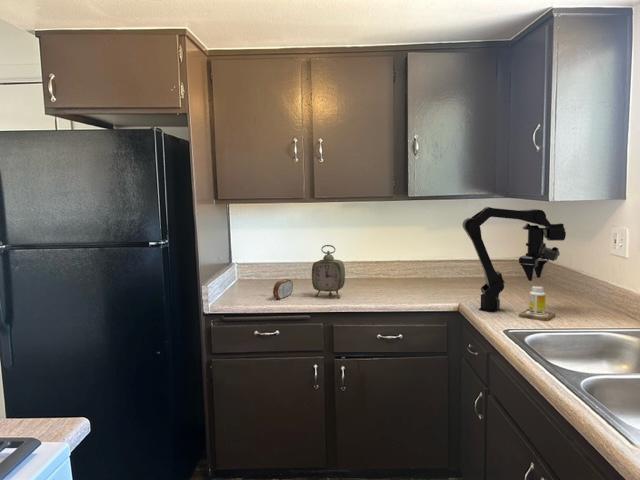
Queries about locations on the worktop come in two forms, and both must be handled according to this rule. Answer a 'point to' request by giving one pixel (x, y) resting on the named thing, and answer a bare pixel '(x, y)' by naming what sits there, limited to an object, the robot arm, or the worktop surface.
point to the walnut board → (537, 315)
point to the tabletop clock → (328, 274)
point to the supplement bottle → (537, 300)
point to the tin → (283, 289)
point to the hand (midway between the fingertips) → (534, 279)
